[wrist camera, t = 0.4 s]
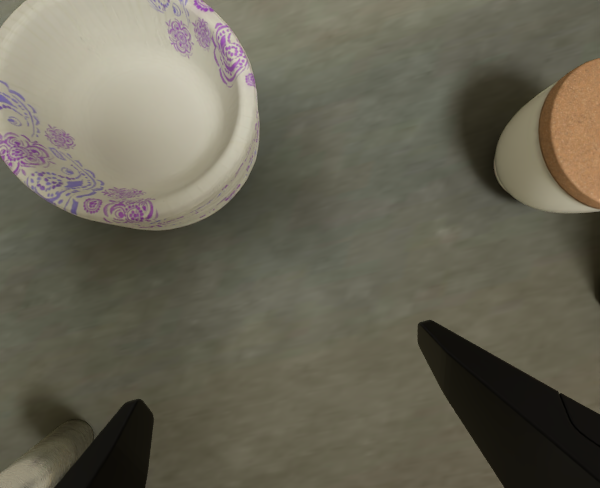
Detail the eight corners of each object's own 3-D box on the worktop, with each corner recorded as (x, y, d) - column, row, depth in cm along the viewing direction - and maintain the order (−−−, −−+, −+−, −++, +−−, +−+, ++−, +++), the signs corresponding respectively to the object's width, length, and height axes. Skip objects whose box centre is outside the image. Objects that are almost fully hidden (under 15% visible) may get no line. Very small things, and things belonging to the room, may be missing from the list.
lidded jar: (449, 149, 26) (545, 90, 17) (533, 92, 27) (667, 7, 18) (511, 244, 27) (641, 237, 17) (593, 183, 28) (756, 146, 18)
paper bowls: (286, 99, 25) (293, 27, 17) (223, 260, 24) (199, 262, 16) (118, 29, 24) (43, -82, 16) (44, 194, 23) (-77, 161, 15)
